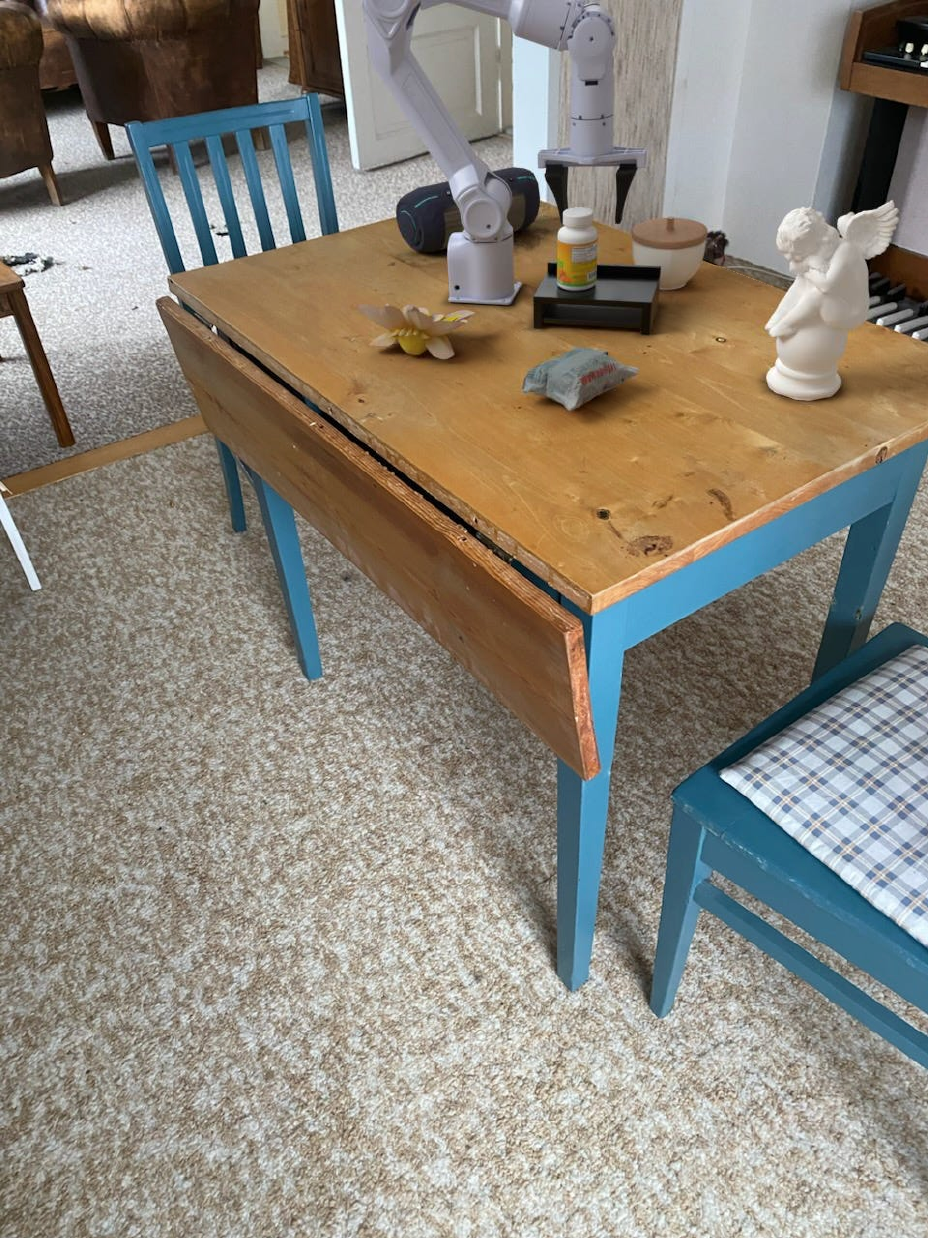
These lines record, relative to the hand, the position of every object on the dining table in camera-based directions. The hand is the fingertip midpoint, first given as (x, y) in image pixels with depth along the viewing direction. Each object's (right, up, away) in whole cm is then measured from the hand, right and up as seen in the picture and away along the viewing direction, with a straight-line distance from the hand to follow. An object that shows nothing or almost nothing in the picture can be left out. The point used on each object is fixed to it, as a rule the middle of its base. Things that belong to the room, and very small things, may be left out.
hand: (591, 221), depth 134 cm
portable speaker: (-16, +8, +28) cm, 33 cm away
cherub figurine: (+25, -27, -18) cm, 40 cm away
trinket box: (+12, -6, +9) cm, 16 cm away
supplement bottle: (-2, -10, -2) cm, 10 cm away
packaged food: (-4, -29, -18) cm, 34 cm away
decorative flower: (-23, -20, -5) cm, 31 cm away
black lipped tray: (+1, -13, 0) cm, 13 cm away
